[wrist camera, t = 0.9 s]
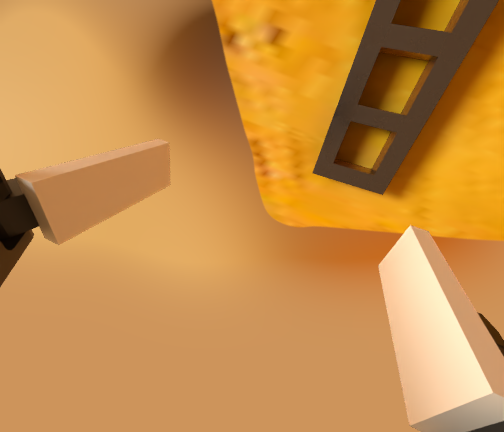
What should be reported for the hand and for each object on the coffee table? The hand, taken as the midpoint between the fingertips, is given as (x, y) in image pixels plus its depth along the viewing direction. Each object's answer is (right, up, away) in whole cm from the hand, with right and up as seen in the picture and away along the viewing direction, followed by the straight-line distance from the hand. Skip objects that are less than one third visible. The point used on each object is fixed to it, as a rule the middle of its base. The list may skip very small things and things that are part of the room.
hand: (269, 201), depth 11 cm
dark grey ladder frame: (+16, +16, +15) cm, 27 cm away
